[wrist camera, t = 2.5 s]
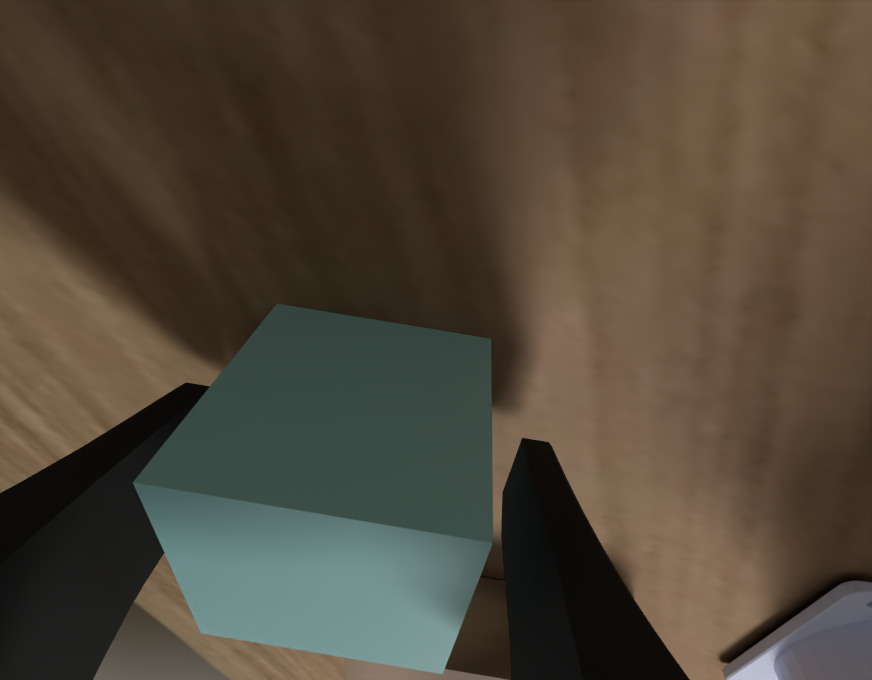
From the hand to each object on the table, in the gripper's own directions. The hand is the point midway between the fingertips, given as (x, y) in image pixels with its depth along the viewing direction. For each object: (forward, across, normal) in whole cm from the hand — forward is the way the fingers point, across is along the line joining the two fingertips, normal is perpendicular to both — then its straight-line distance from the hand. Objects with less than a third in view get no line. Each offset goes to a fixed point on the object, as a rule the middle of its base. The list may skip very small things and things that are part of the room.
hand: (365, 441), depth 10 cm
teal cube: (+2, 0, 0) cm, 2 cm away
